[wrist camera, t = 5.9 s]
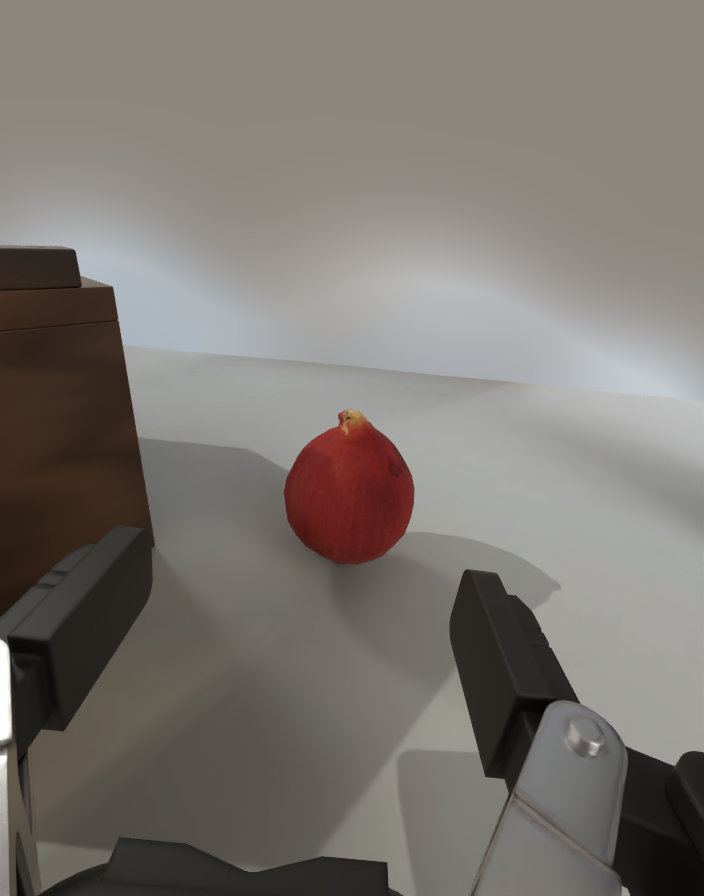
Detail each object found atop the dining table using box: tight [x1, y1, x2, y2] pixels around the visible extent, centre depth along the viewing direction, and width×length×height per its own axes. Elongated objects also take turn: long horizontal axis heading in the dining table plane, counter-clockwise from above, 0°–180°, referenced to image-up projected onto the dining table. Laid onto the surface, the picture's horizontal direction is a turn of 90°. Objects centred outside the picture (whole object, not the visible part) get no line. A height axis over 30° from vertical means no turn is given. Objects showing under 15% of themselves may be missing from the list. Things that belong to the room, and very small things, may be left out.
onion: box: [284, 409, 414, 564], centre depth 20 cm, size 6×6×8 cm
